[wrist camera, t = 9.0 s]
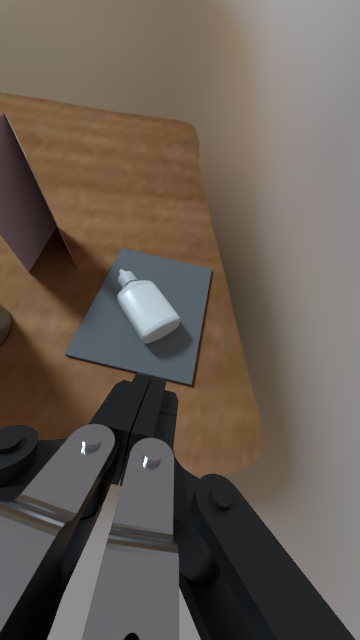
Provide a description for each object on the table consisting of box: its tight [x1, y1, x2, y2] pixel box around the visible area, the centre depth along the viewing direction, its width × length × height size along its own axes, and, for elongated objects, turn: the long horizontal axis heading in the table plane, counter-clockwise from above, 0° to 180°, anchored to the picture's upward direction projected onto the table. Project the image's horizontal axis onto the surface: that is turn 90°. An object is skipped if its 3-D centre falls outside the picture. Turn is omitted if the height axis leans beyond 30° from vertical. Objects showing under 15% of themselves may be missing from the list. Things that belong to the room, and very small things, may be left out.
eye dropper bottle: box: [118, 269, 180, 343], centre depth 28 cm, size 4×6×12 cm
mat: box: [65, 248, 212, 385], centre depth 30 cm, size 16×20×1 cm
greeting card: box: [0, 112, 75, 272], centre depth 28 cm, size 11×7×15 cm, turn 176°
